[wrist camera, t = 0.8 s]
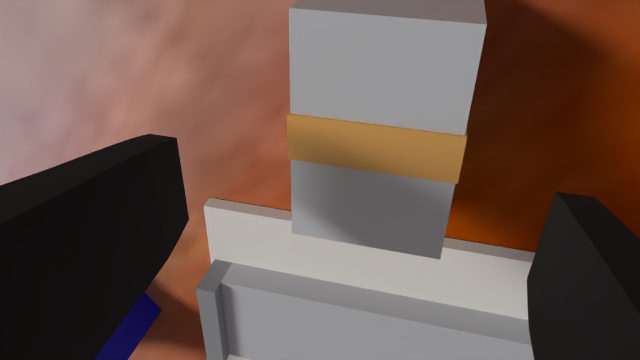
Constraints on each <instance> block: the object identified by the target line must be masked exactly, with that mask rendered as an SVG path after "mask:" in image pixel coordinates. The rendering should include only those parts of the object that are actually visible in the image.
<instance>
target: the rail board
mask: <svg viewBox="0 0 640 360" xmlns="http://www.w3.org/2000/svg"><path fill="white" fill-rule="evenodd" d="M204 213H205V220H206V228H207V236H208V243H209V251H210V259H211V266H210V267H209V269H208V270H207V272H206V274H205V275H204V277H203V278H202V280H201V281H200V283H199V284H198V286H197V288H196V293H197V299H198V306H199V312H200V318H201V325H202V331H203V337H204V343H205V350H206V356H207V360H534V356H533V351H532V345H531V339H530V333H529V324H528V304H527V277H528V274H529V271H530V268H531V265H532V262H533V259H534V256H535V252H529V251H523V250H517V249H511V248H505V247H499V246H493V245H487V244H481V243H475V242H470V241H464V240H458V239H452V238H446V237H445V238H444V243H443V248H442V253H441V258H440V260H439V259H434V258H428V257H422V256H417V255H411V254H405V253H400V252H394V251H388V250H383V249H377V248H372V247H366V246H360V245H355V244H349V243H343V242H338V241H332V240H327V239H321V238H315V237H310V236H304V235H298V234H293V233H292V211H286V210H280V209H274V208H268V207H262V206H256V205H250V204H244V203H238V202H232V201H226V200H220V199H214V198H210V199H209V200H208V201H207V202H206V204H205V205H204Z"/></svg>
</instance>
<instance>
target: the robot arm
mask: <svg viewBox="0 0 640 360" xmlns="http://www.w3.org/2000/svg"><path fill="white" fill-rule="evenodd" d="M188 220H189V216H188V210H187V203H186V197H185V190H184V184H183V177H182V170H181V164H180V157H179V151H178V144H177V138H174V137H167V136H160V135H153V134H147V135H143V136H139V137H135V138H132V139H129V140H126V141H123V142H120V143H117V144H114V145H111V146H108V147H106V148H103V149H100V150H98V151H95V152H92V153H90V154H87V155H84V156H82V157H79V158H76V159H74V160H71V161H68V162H66V163H63V164H60V165H58V166H55V167H52V168H50V169H47V170H44V171H41V172H38V173H36V174H33V175H30V176H27V177H24V178H21V179H18V180H15V181H12V182H9V183H7V184H4V185H1V186H0V360H95V358H96V357H97V355H98V354H99V352H100V351H101V349H102V348H103V346H104V345H105V344H106V342H107V341H108V340H109V338H110V337H111V336H112V334H113V333H114V332H115V330H116V329H117V328H118V326H119V325H120V324H121V322H122V321H123V320H124V318H125V317H126V316H127V314H128V313H129V311H130V310H131V309H132V307H133V306H134V305H135V303H136V302H137V301H138V299H139V298H140V297H141V295H142V294H143V293H144V291H145V290H146V289H147V287H148V286H149V285H150V283H151V282H152V280H153V279H154V278H155V276H156V275H157V274H158V272H159V271H160V269H161V268H162V267H163V265H164V264H165V262H166V261H167V260H168V258H169V256H170V254H171V253H172V251H173V249H174V247H175V245H176V244H177V242H178V240H179V238H180V236H181V234H182V232H183V230H184V228H185V226H186V224H187V222H188ZM527 304H528V324H529V333H530V339H531V345H532V351H533V356H534V360H640V239H639V238H638V237H637V236H636V235H635V234H634V233H633V232H632V231H631V230H630V229H629V228H627V227H626V226H625V225H624V224H623V223H622V222H621V221H620V220H619V219H618V218H617V217H616V216H615V215H614V214H613V213H612V212H610V211H609V210H608V209H607V208H606V207H605V206H604V205H603V204H601V203H600V202H599V201H598V200H597V199H595V198H594V197H588V196H581V195H574V194H567V193H560V192H556V193H555V196H554V199H553V202H552V205H551V208H550V211H549V214H548V217H547V220H546V223H545V226H544V229H543V232H542V235H541V238H540V241H539V244H538V247H537V250H536V253H535V256H534V259H533V262H532V265H531V268H530V271H529V274H528V277H527Z"/></svg>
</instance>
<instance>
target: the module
mask: <svg viewBox="0 0 640 360" xmlns="http://www.w3.org/2000/svg"><path fill="white" fill-rule="evenodd" d="M486 27H487V21H486V13H485V5H484V0H299V1H297V2H296V3H295V4H293V5H292V6H291V7H290V8H289V50H290V111H289V113H288V114H287V144H288V159H291V206H292V233H293V234H298V235H304V236H310V237H315V238H321V239H327V240H332V241H338V242H343V243H349V244H355V245H360V246H366V247H372V248H377V249H383V250H388V251H394V252H400V253H405V254H411V255H417V256H422V257H428V258H434V259H439V260H440V258H441V253H442V248H443V243H444V238H445V233H446V228H447V223H448V218H449V213H450V208H451V203H452V198H453V192H454V187H455V184H458V181H459V176H460V171H461V166H462V161H463V156H464V151H465V146H466V141H467V122H468V117H469V112H470V107H471V102H472V97H473V92H474V87H475V82H476V77H477V72H478V67H479V62H480V57H481V52H482V47H483V42H484V37H485V32H486Z"/></svg>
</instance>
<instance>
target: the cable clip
mask: <svg viewBox="0 0 640 360" xmlns="http://www.w3.org/2000/svg"><path fill="white" fill-rule="evenodd" d="M160 312H161V309H160V308H159V307H158V306H157V305H156V304H155V303H154V302H153V301H152V300H151V299H150V298H149V297H148V296H147V294H146V293H145V292H144V293H143V294H142V295H141V297H140V298H139V299H138V301H137V302H136V303H135V305H134V306H133V307H132V309H131V310H130V311H129V313H128V314H127V316H126V317H125V318H124V320H123V321H122V322H121V324H120V325H119V326H118V328H117V329H116V330H115V332H114V333H113V334H112V336H111V337H110V338H109V340H108V341H107V342H106V344H105V345H104V346H103V348H102V349H101V351H100V352H99V354H98V355H97V357H96V358H95V360H128V358H129V357H130V355H131V354H132V353H133V351H134V350H135V348H136V347H137V345H138V344H139V342H140V341H141V339H142V338H143V337H144V335H145V334H146V332H147V331H148V329H149V328H150V326H151V325H152V323H153V322H154V321H155V319H156V318H157V316H158V315H159V313H160Z"/></svg>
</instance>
